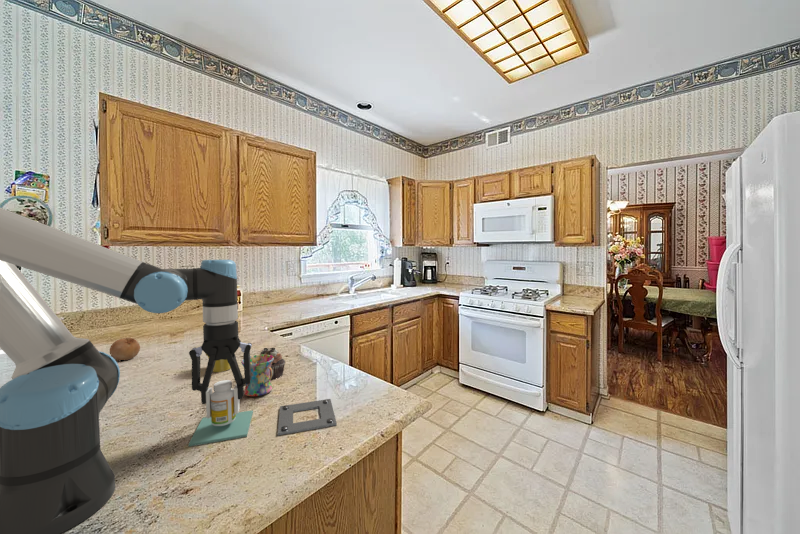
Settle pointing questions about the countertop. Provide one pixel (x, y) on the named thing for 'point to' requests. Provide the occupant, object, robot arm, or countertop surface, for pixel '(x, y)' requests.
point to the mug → (259, 375)
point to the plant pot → (221, 365)
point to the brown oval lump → (124, 349)
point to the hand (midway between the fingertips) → (223, 413)
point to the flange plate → (289, 427)
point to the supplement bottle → (222, 403)
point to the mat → (221, 430)
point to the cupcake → (275, 362)
